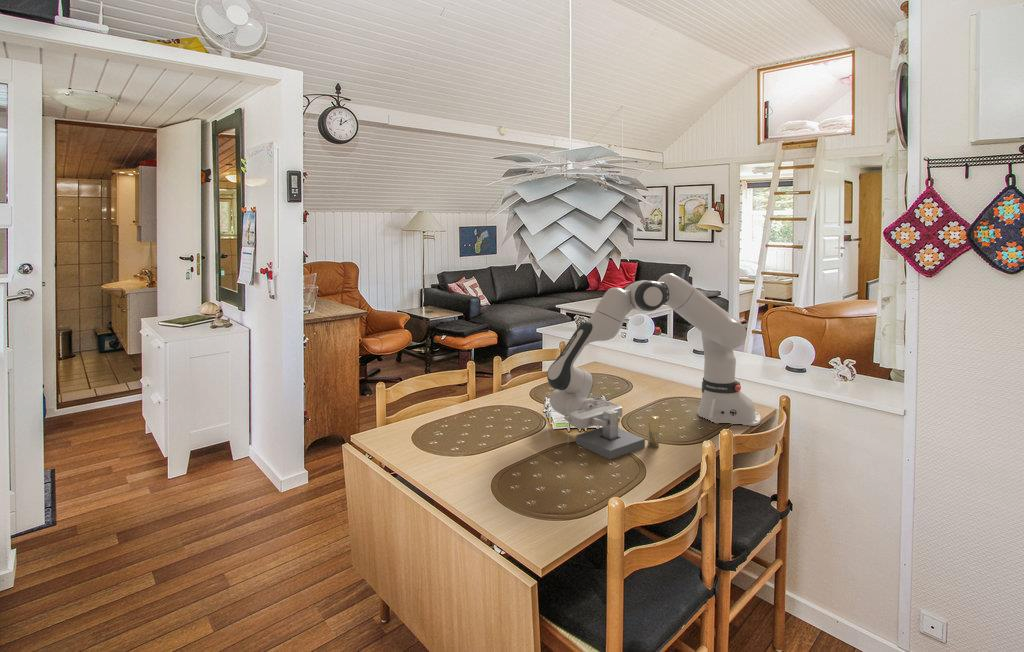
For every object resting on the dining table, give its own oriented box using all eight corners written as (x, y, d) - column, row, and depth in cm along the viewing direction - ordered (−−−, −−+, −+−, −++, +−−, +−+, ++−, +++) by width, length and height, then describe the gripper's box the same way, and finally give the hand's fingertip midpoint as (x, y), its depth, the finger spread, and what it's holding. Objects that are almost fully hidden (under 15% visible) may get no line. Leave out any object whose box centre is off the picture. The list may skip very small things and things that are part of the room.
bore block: (576, 443, 192) (576, 435, 191) (610, 432, 201) (610, 424, 200) (609, 459, 179) (609, 450, 178) (644, 447, 188) (645, 438, 187)
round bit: (659, 445, 189) (660, 416, 187) (657, 449, 186) (658, 420, 184) (648, 443, 191) (649, 415, 189) (646, 447, 188) (647, 418, 186)
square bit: (602, 445, 190) (603, 411, 188) (610, 442, 192) (610, 408, 190) (610, 448, 187) (610, 413, 185) (617, 446, 189) (618, 411, 187)
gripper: (561, 408, 192) (589, 420, 181) (605, 396, 203) (634, 406, 192) (561, 425, 193) (588, 438, 182) (605, 413, 205) (633, 424, 194)
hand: (612, 422), depth 187 cm, fingers open, 4 cm apart
